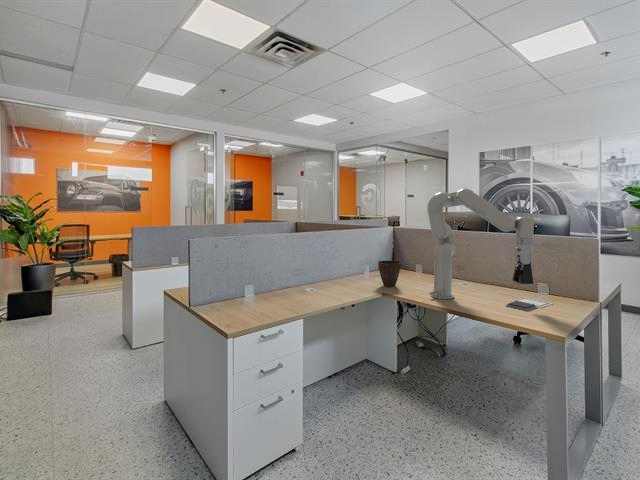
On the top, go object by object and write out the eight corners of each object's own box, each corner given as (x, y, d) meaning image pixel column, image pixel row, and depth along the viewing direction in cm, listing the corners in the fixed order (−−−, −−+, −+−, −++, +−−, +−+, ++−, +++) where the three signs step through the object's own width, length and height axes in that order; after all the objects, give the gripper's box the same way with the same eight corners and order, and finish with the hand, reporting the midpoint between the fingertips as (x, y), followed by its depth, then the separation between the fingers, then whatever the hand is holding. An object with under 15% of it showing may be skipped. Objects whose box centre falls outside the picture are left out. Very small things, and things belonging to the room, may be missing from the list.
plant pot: (374, 286, 219) (374, 262, 218) (383, 282, 231) (383, 259, 230) (395, 289, 211) (395, 264, 209) (404, 285, 223) (404, 261, 222)
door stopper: (533, 284, 164) (534, 260, 163) (520, 284, 165) (521, 260, 164) (524, 280, 173) (525, 257, 172) (512, 280, 174) (513, 257, 173)
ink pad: (526, 311, 163) (527, 307, 163) (506, 306, 172) (506, 303, 172) (536, 307, 169) (536, 304, 169) (516, 303, 177) (516, 300, 177)
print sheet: (540, 308, 168) (540, 307, 168) (510, 301, 181) (510, 300, 181) (552, 303, 175) (552, 303, 175) (522, 297, 188) (522, 297, 188)
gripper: (523, 242, 160) (521, 280, 161) (540, 240, 169) (538, 275, 170) (507, 241, 166) (506, 277, 167) (524, 239, 175) (523, 273, 177)
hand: (522, 276), depth 169 cm, fingers closed on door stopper, 5 cm apart
